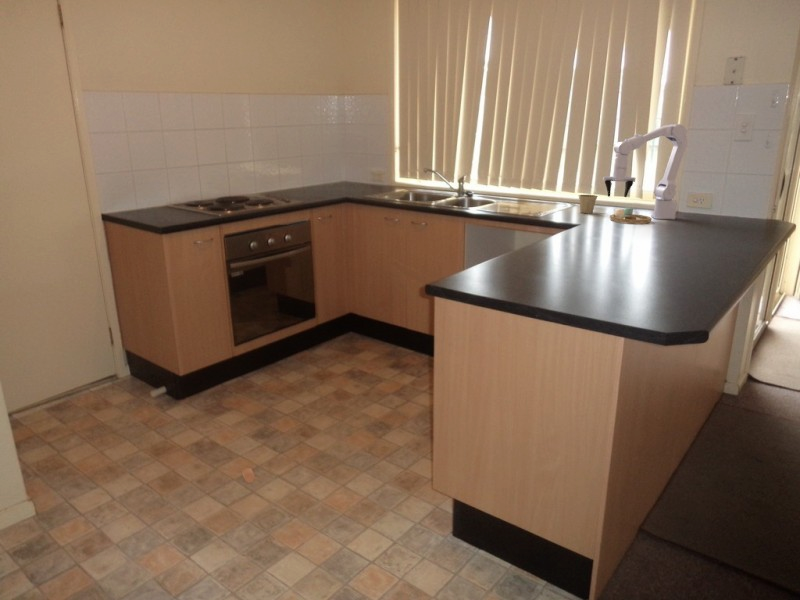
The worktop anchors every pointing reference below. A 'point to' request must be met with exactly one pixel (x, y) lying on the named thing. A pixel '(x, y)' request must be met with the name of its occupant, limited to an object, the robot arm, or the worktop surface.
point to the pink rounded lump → (248, 475)
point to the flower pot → (587, 203)
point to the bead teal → (628, 211)
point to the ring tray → (632, 219)
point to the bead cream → (619, 213)
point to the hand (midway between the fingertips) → (617, 196)
